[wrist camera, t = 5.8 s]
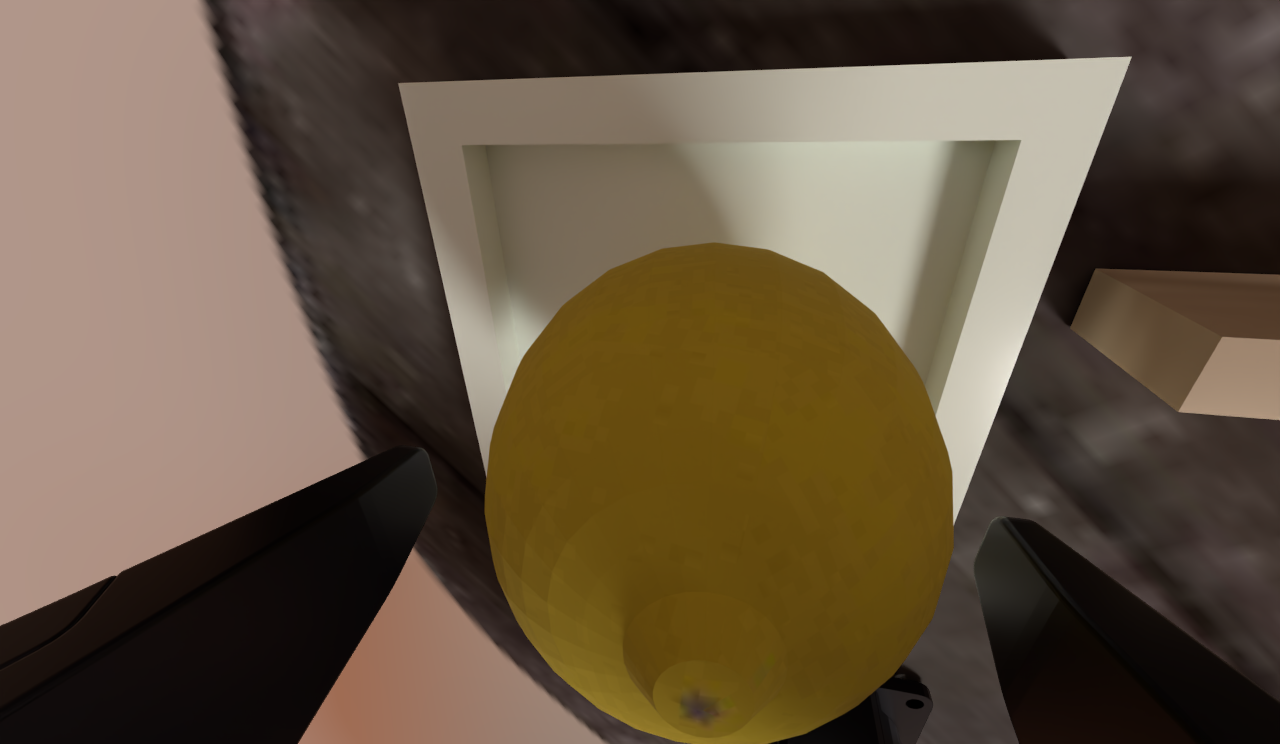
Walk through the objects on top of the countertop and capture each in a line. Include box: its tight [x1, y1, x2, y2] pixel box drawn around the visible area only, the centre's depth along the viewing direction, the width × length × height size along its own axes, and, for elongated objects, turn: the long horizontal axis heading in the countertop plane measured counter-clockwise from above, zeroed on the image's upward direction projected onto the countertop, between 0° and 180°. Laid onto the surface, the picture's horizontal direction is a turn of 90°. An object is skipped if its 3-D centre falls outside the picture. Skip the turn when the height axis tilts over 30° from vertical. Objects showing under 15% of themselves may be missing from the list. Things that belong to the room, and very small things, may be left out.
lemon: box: [485, 242, 954, 744], centre depth 7 cm, size 6×6×8 cm
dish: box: [398, 57, 1131, 525], centre depth 11 cm, size 11×11×2 cm
